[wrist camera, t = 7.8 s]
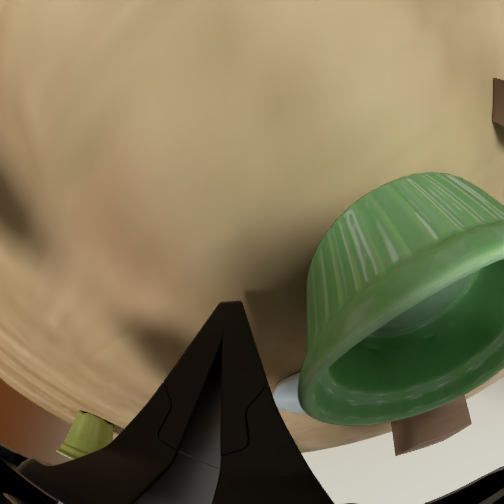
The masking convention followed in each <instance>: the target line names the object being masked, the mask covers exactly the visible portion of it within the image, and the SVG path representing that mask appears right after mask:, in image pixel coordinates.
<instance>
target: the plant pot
mask: <svg viewBox="0 0 504 504" xmlns="http://www.w3.org/2000/svg"><path fill="white" fill-rule="evenodd" d="M113 430H114V426H113V425H112V424H109V423H107V422H106V421H105V420H103V419H102V418H99V417H96V416H94V415H93V414H90V413H83V412H82V411H79V412H78V414H77V416H76V418H75V420H74V423H73V425H72V427H71V429H70V432H69V433H68V435H67V437H66V439H65V441H64V443H62V444H61V446H60V448H59V450H56V451H57V452H58V453H61V454H62V455H64V456H66V457H68V458H70V459H72V460H73V459H76V458H79V457H81V456H84V455H87V454H89V453H92V452H94V451H97V450H99V449H101V448H103V447H105V446H107V445H108V444H109V443H111V442H112V441H113Z"/></svg>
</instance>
